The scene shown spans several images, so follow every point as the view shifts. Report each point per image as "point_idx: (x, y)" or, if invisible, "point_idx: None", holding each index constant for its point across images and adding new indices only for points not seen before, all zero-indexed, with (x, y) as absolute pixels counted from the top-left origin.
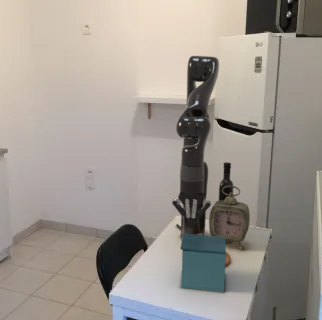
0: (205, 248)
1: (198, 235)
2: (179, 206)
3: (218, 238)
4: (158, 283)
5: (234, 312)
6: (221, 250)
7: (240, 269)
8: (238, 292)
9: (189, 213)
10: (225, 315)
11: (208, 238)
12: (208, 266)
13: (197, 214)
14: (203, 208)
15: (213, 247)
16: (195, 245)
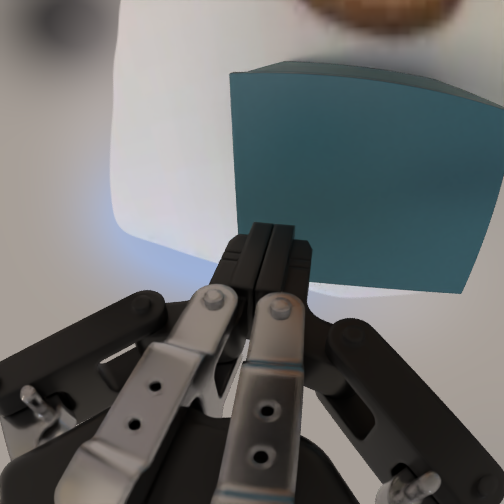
0: (373, 273)
1: (347, 88)
2: (91, 405)
3: (477, 131)
4: (204, 164)
5: None
6: (448, 283)
7: (495, 42)
8: None
9: (226, 386)
10: (393, 295)
11: (415, 136)
12: None
13: (317, 393)
14: (378, 470)
15: (419, 258)
16: (321, 246)
